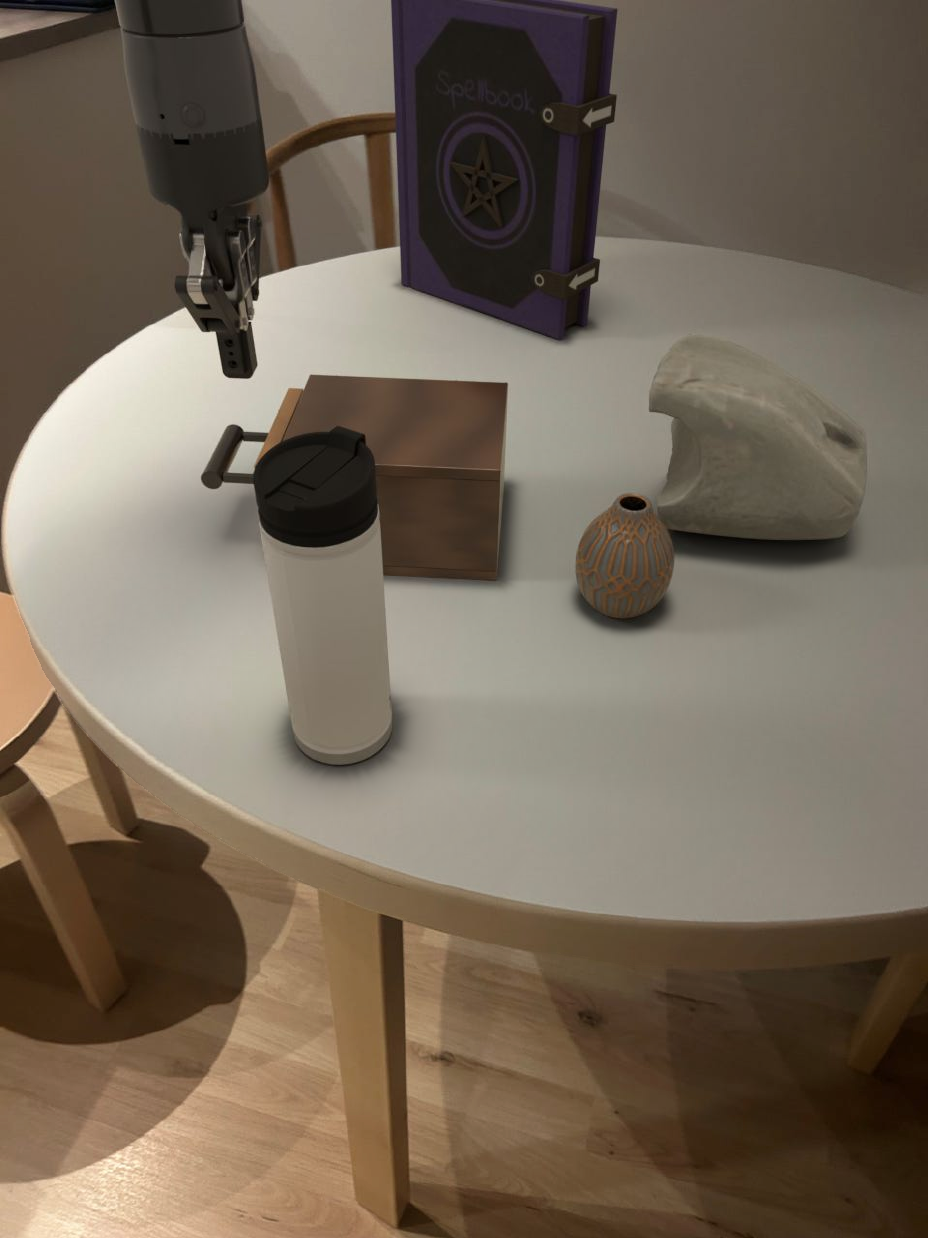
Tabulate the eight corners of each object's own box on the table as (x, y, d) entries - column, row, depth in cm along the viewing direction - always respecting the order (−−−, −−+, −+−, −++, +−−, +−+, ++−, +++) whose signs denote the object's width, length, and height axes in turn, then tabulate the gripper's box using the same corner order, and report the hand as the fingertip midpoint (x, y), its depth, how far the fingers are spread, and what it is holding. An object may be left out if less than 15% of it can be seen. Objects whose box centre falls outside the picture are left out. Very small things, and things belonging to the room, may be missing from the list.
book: (399, 286, 114) (387, -13, 94) (433, 270, 118) (429, -21, 98) (560, 343, 103) (586, 17, 83) (593, 324, 106) (625, 8, 87)
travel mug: (414, 713, 62) (403, 443, 49) (355, 782, 58) (325, 506, 45) (336, 678, 64) (305, 411, 51) (273, 741, 60) (222, 469, 47)
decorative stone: (854, 577, 73) (917, 400, 63) (626, 554, 75) (652, 378, 65) (834, 490, 82) (887, 322, 72) (631, 471, 84) (655, 305, 74)
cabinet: (289, 570, 73) (273, 459, 67) (321, 478, 83) (309, 373, 76) (496, 581, 72) (500, 470, 66) (503, 487, 82) (508, 382, 75)
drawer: (203, 551, 73) (184, 462, 68) (241, 469, 82) (226, 384, 77) (458, 564, 72) (459, 475, 67) (469, 479, 81) (470, 395, 76)
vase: (666, 637, 68) (685, 537, 62) (568, 626, 68) (578, 526, 63) (666, 577, 73) (684, 479, 67) (575, 567, 74) (585, 470, 68)
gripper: (170, 83, 63) (215, 332, 75) (97, 140, 53) (161, 417, 65) (282, 85, 63) (310, 335, 74) (229, 143, 53) (271, 422, 64)
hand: (241, 373), depth 69 cm, fingers closed
